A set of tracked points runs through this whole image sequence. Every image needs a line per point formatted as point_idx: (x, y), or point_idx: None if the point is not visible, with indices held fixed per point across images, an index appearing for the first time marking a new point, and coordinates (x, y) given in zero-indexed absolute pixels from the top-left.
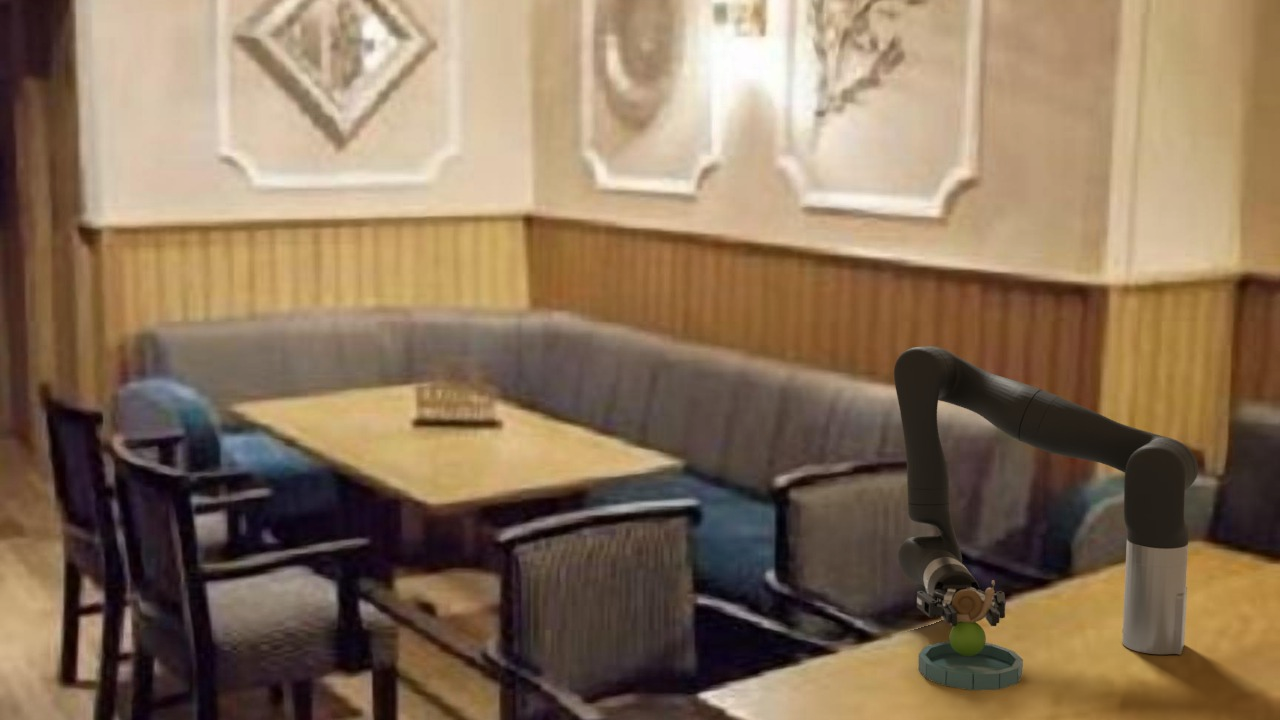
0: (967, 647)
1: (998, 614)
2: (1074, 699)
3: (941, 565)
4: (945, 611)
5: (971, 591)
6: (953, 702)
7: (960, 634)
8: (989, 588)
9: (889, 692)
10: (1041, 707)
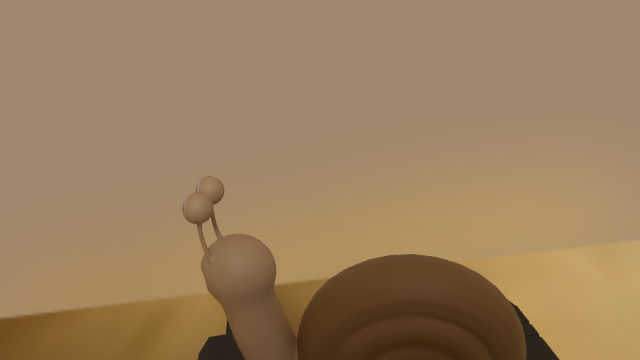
0: None
1: (214, 338)
2: (86, 356)
3: None
4: (532, 327)
5: (379, 257)
6: None
7: None
8: (241, 234)
9: (588, 331)
10: (201, 302)
